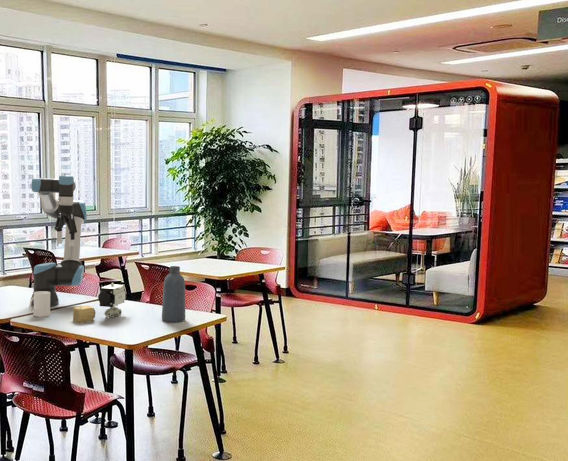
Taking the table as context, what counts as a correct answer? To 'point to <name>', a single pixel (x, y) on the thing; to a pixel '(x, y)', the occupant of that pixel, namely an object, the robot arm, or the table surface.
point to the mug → (41, 304)
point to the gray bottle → (174, 297)
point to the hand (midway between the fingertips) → (65, 244)
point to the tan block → (83, 314)
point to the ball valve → (112, 299)
